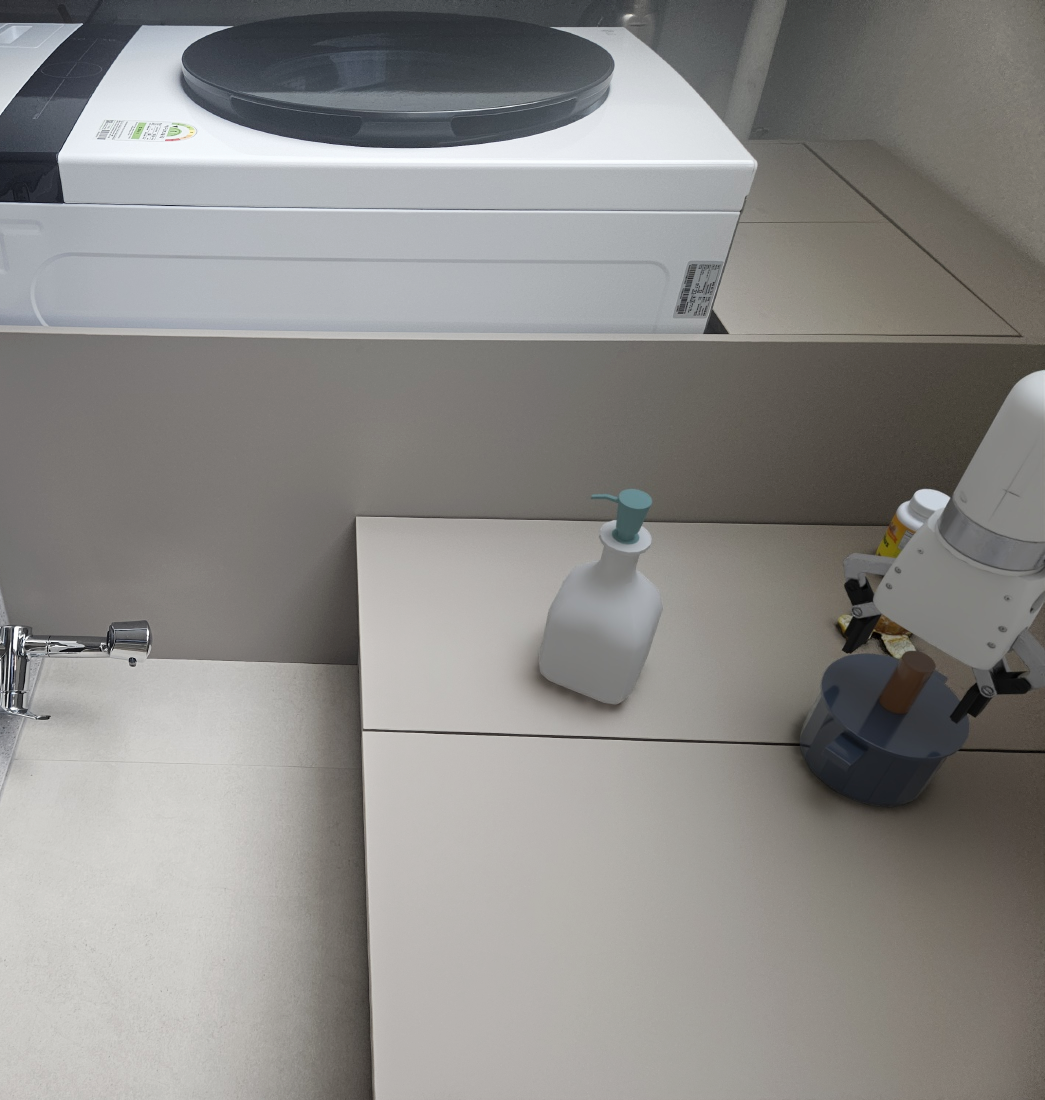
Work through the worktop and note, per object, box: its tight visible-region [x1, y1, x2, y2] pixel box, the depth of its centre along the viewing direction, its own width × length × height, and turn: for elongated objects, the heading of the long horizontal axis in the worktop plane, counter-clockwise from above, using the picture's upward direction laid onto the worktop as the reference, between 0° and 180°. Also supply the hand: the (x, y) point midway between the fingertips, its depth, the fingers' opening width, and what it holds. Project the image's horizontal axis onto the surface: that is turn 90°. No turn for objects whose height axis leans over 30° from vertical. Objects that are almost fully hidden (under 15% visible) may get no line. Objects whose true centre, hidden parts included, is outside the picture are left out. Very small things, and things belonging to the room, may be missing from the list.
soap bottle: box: [538, 488, 664, 705], centre depth 92 cm, size 10×10×23 cm
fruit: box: [837, 589, 917, 659], centre depth 102 cm, size 8×8×4 cm
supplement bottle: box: [874, 488, 951, 558], centre depth 107 cm, size 6×6×10 cm
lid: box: [819, 650, 971, 761], centre depth 84 cm, size 12×12×7 cm
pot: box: [799, 669, 949, 807], centre depth 88 cm, size 11×16×8 cm
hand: (905, 678), depth 83 cm, fingers open, 9 cm apart
